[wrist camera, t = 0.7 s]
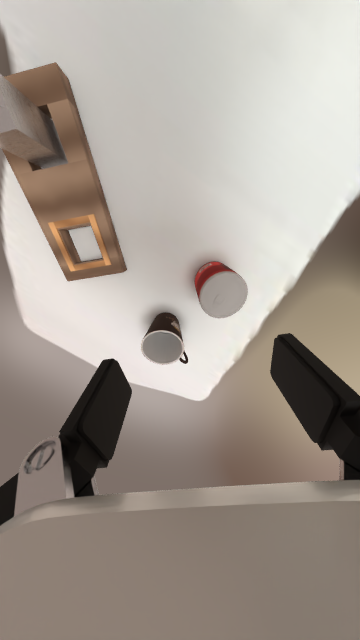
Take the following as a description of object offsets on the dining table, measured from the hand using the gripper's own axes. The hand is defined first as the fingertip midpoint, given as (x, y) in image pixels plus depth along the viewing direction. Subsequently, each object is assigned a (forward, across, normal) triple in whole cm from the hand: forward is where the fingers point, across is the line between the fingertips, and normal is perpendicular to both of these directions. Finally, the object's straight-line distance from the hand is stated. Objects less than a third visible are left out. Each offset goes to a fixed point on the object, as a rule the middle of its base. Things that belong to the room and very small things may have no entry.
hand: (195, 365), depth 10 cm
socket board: (+28, +18, -15) cm, 37 cm away
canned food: (+28, -6, +3) cm, 29 cm away
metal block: (+28, +18, -22) cm, 40 cm away
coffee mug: (+28, +7, +14) cm, 32 cm away
